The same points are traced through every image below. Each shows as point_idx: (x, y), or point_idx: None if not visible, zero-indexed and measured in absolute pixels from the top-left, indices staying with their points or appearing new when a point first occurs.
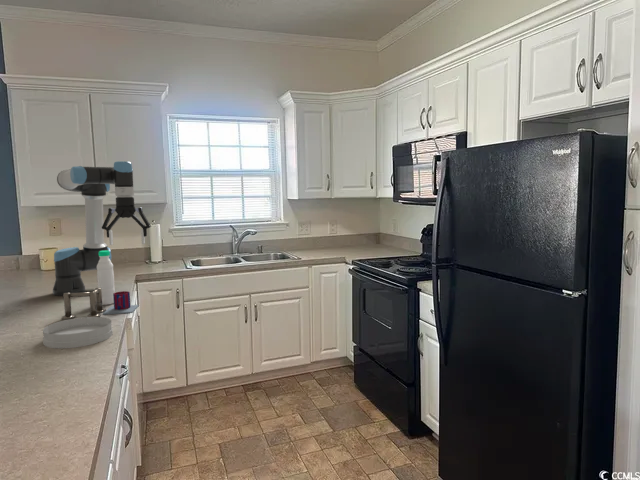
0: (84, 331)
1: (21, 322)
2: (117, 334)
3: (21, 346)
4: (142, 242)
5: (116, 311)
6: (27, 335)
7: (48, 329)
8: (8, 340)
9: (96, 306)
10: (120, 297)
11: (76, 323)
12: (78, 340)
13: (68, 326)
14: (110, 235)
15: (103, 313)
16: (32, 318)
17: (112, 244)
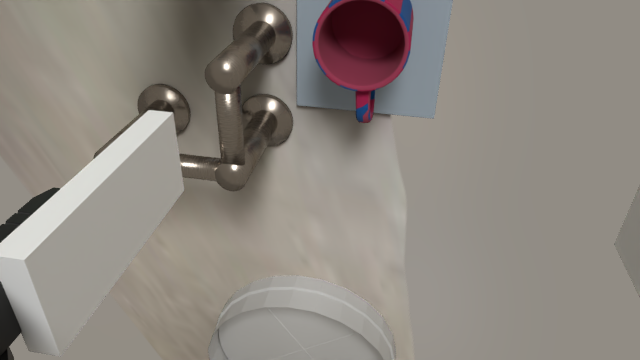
0: (309, 329)
1: (20, 123)
2: (410, 352)
3: (186, 351)
4: (631, 262)
5: (354, 91)
6: (145, 276)
7: (213, 338)
8: (121, 300)
9: (267, 140)
10: (369, 118)
11: (265, 294)
12: None
13: (247, 296)
14: (107, 283)
15: (299, 104)
16: (19, 73)
17: (176, 152)
